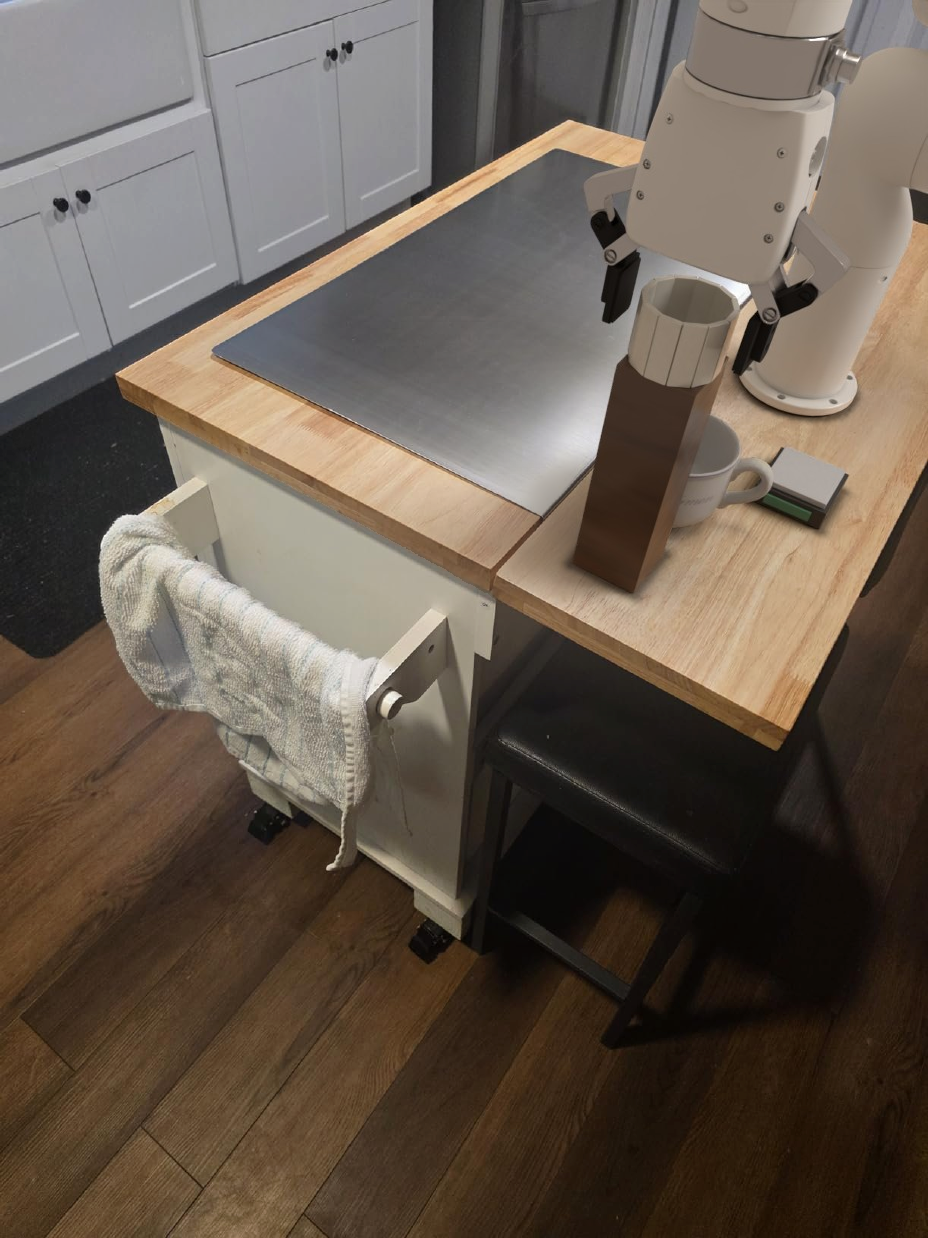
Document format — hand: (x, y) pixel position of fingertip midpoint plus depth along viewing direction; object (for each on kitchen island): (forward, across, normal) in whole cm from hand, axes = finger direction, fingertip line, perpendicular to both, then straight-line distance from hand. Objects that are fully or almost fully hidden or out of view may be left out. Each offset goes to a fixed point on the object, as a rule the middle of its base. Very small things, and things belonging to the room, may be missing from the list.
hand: (678, 339), depth 60 cm
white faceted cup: (+2, 0, 0) cm, 2 cm away
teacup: (+22, -2, -9) cm, 24 cm away
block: (+22, 0, 0) cm, 22 cm away
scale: (+22, -10, -18) cm, 30 cm away
